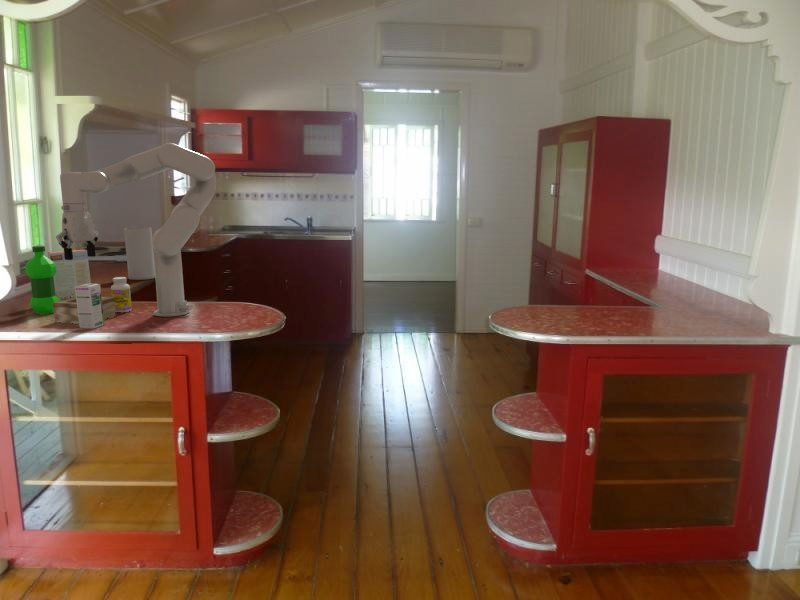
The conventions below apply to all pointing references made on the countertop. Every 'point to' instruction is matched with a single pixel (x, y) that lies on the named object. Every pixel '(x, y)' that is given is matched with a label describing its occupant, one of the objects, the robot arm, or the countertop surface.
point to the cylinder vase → (139, 253)
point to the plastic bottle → (41, 281)
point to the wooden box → (69, 313)
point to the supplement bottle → (121, 295)
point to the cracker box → (70, 273)
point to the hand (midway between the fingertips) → (80, 258)
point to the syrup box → (89, 306)
